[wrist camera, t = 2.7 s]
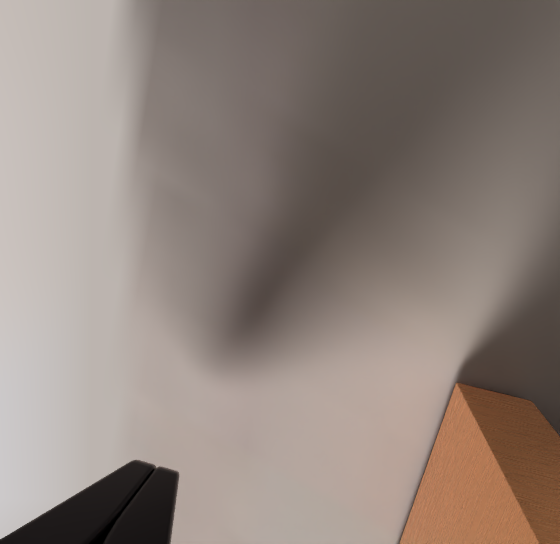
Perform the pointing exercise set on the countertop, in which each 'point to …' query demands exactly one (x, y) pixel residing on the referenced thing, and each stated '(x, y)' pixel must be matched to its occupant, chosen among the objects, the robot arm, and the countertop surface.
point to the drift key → (489, 475)
